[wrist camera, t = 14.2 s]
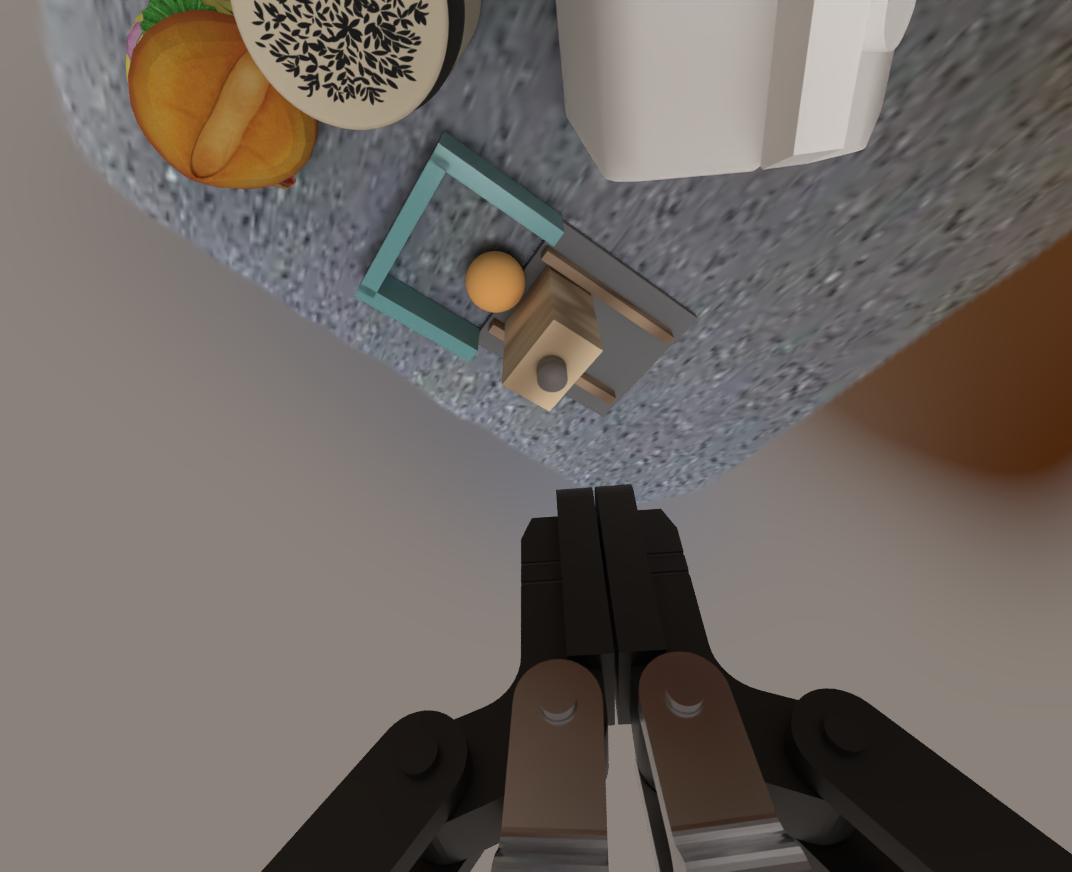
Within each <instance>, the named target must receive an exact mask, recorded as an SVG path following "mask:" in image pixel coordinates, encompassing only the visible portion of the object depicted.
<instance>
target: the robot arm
mask: <svg viewBox="0 0 1072 872" xmlns="http://www.w3.org/2000/svg"><path fill="white" fill-rule="evenodd" d="M556 495H557V510H558V516H557V517H542V518H532V519H531V521H530V523H529V525H528V527H527V529H526V531H525V533H524V535H523V537H522V539H521V663H520V667H519V671H518V674H517V676H516V679H515V680H514V682H513V684H512V685H511V687H510V688H509V689H508V690H507V691H506V693H504V694H503V695H502V696H501V697H500V698H499V699H497V700H496V701H495V702H493V703H491V704H489V705H488V706H485V707H483V708H481V709H478V710H476V711H474V712H471V713H469V714H467V715H464V716H462V717H459V718H457V719H455V720H453V719H452V718H451V717H449V716H448V715H446V714H444V713H441V712H437V711H419V712H415V713H412V714H410V715H407V716H406V717H404V718H402V719H400V720H399V721H398V722H396V723H395V724H394V725H393V726H392V727H390V728H389V729H388V731H387V732H386V733H385V734H384V735H383V736H382V737H381V738H380V740H379V741H378V742H377V743H376V744H375V745H374V746H373V747H372V748H371V749H370V751H369V752H368V753H367V754H366V755H365V756H364V757H363V758H362V760H361V761H360V762H359V763H358V764H357V765H356V766H355V767H354V769H353V770H352V771H351V772H350V773H349V774H348V775H347V777H346V778H345V779H344V780H343V781H342V782H341V783H340V784H339V785H338V786H337V788H336V789H335V790H334V791H333V792H332V793H331V794H330V795H329V797H328V798H327V799H326V800H325V801H324V802H323V803H322V804H321V805H320V807H319V808H318V809H317V810H316V811H315V812H314V813H313V814H312V815H311V817H310V818H309V819H308V820H307V821H306V822H305V823H304V824H303V826H302V827H301V828H300V829H299V830H298V831H297V832H296V833H295V835H294V836H293V837H292V838H291V839H290V840H289V841H288V842H287V843H286V845H285V846H284V847H283V848H282V849H281V850H280V851H279V852H278V853H277V855H276V856H275V857H274V858H273V859H272V860H271V861H270V862H269V864H268V865H267V866H266V867H265V868H264V869H263V870H262V872H470V871H471V869H472V868H473V867H474V865H475V863H476V862H477V861H478V859H479V858H480V856H481V855H482V853H483V852H484V850H485V849H488V848H490V847H492V846H494V845H496V844H498V843H499V847H498V850H497V851H496V853H495V856H494V859H493V863H492V868H491V872H608V844H607V815H606V814H607V812H606V778H607V774H608V768H609V764H608V725H615V714H614V713H615V709H614V707H615V701H616V709H617V717H618V724H631V725H632V732H633V739H634V746H635V753H636V758H635V771H636V777H637V781H638V786H639V791H640V796H641V800H642V805H643V810H644V815H645V819H646V824H647V829H648V834H649V838H650V843H651V848H652V853H653V857H654V862H655V867H656V872H1072V854H1071V853H1069V852H1068V851H1067V850H1065V849H1064V848H1062V847H1061V846H1060V845H1058V844H1057V843H1056V842H1054V841H1053V840H1052V839H1050V838H1049V837H1048V836H1046V835H1045V834H1044V833H1042V832H1041V831H1040V830H1038V829H1037V828H1035V827H1034V826H1033V825H1032V824H1030V823H1029V822H1028V821H1026V820H1025V819H1024V818H1022V817H1021V816H1020V815H1018V814H1017V813H1015V812H1014V811H1013V810H1011V809H1010V808H1008V807H1007V806H1006V805H1004V804H1003V803H1002V802H1001V801H999V800H998V799H997V798H995V797H994V796H993V795H991V794H989V792H987V791H986V790H985V789H983V788H982V787H981V786H979V785H978V784H976V783H975V782H974V781H972V780H971V779H970V778H968V777H967V776H966V775H964V774H963V773H962V772H960V771H959V770H958V769H956V768H955V767H954V766H952V765H951V764H950V763H948V762H947V761H946V760H944V759H943V758H942V757H940V756H939V755H937V754H936V753H935V752H933V751H932V750H931V749H929V748H928V747H927V746H925V745H924V744H923V743H921V742H920V741H919V740H917V739H916V738H915V737H913V736H912V735H911V734H909V733H908V732H907V731H905V730H904V729H902V728H901V727H900V726H899V725H897V724H896V723H895V722H893V721H892V720H891V719H889V718H888V717H887V716H885V715H884V714H882V713H881V712H880V711H878V710H877V709H876V708H874V707H873V706H872V705H870V704H869V703H867V702H866V701H864V700H863V699H861V698H860V697H857V696H855V695H853V694H851V693H848V692H845V691H842V690H837V689H817V690H814V691H811V692H809V693H807V694H805V695H804V696H803V697H802V698H800V699H799V700H796V699H792V698H787V697H784V696H780V695H776V694H772V693H768V692H765V691H761V690H758V689H755V688H751V687H749V686H747V685H745V684H743V683H741V682H739V681H738V680H736V679H735V678H733V677H732V676H731V675H729V674H728V673H727V672H726V671H725V670H724V669H723V668H722V667H721V666H720V664H719V663H718V662H717V660H716V659H715V658H714V656H713V654H712V652H711V649H710V646H709V643H708V640H707V636H706V632H705V629H704V625H703V622H702V618H701V614H700V610H699V607H698V603H697V599H696V596H695V592H694V589H693V585H692V581H691V577H690V575H689V572H688V566H687V563H686V559H685V556H684V554H683V548H682V545H681V541H680V537H679V533H678V530H677V527H676V526H675V525H674V524H673V523H672V522H671V520H670V519H669V518H668V517H667V516H666V514H665V513H664V512H663V511H662V510H661V509H650V510H637V505H636V501H635V496H634V491H633V487H632V485H631V484H627V485H614V486H600V487H595V503H594V496H593V489H592V487H589V488H576V489H562V490H556ZM614 700H615V701H614Z"/></svg>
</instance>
